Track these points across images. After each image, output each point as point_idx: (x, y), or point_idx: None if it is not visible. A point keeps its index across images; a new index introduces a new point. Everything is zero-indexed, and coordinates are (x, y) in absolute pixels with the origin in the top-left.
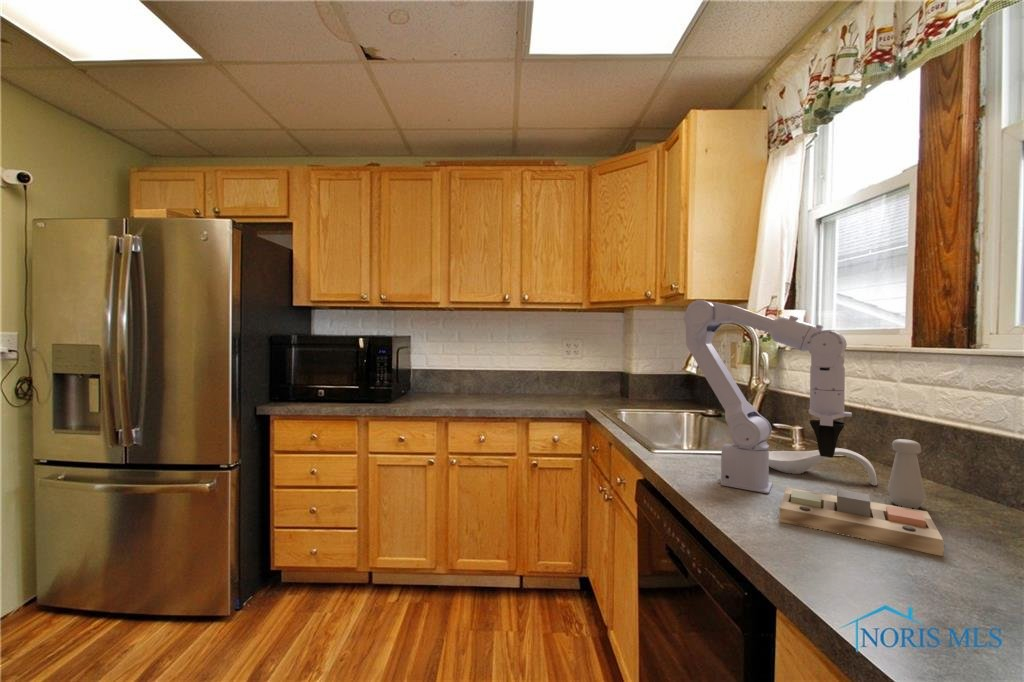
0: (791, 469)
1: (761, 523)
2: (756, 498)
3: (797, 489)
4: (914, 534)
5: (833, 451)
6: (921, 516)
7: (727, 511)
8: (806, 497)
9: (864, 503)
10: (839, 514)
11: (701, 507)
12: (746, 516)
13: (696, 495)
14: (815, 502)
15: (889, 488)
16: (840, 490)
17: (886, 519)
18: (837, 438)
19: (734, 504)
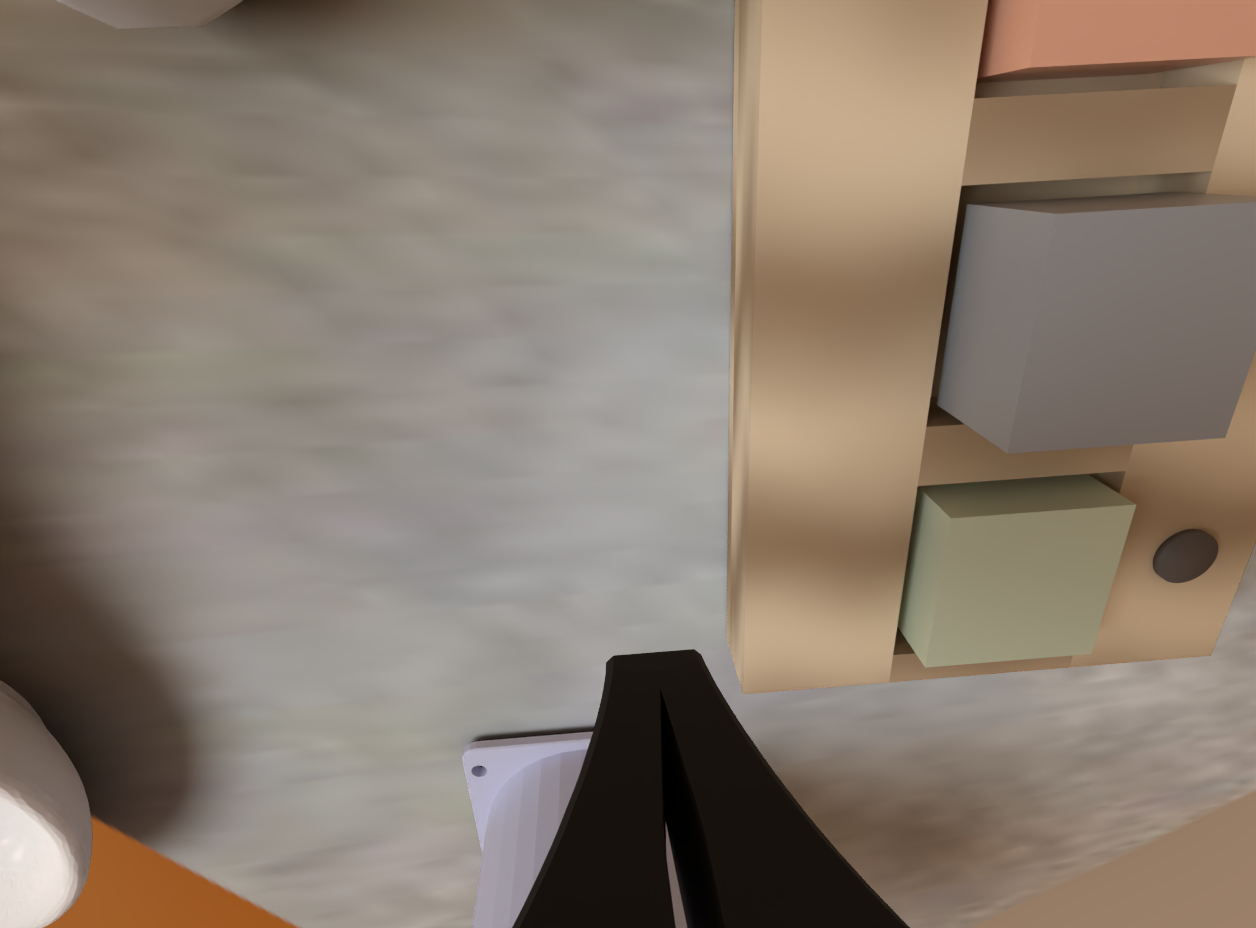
0: (45, 732)
1: (1202, 657)
2: (806, 743)
3: (750, 640)
4: None
5: (728, 705)
6: None
7: (1093, 785)
8: (1068, 584)
9: None
10: None
11: (1087, 860)
12: (1128, 719)
13: (924, 913)
14: (1119, 527)
15: (179, 3)
16: (1038, 428)
17: (1023, 77)
18: (868, 886)
19: (971, 788)
